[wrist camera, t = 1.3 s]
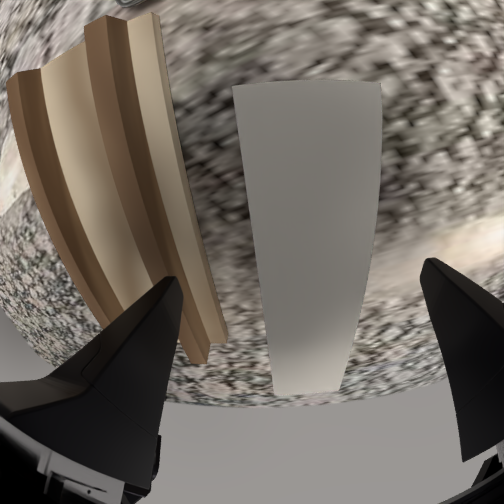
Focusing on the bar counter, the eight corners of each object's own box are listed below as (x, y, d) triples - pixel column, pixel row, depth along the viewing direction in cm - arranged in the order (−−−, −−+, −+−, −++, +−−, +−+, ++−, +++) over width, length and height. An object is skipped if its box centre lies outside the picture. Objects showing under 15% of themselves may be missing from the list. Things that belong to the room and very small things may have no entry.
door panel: (274, 283, 18) (274, 395, 11) (252, 87, 11) (231, 85, 4) (319, 280, 17) (338, 390, 11) (315, 83, 11) (381, 83, 4)
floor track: (123, 329, 22) (111, 355, 20) (27, 83, 10) (-5, 91, 7) (228, 333, 21) (223, 364, 19) (159, 16, 9) (132, 3, 6)
